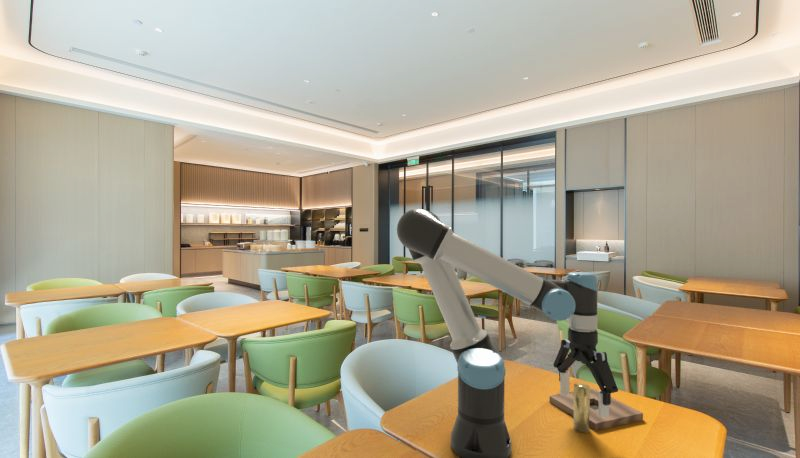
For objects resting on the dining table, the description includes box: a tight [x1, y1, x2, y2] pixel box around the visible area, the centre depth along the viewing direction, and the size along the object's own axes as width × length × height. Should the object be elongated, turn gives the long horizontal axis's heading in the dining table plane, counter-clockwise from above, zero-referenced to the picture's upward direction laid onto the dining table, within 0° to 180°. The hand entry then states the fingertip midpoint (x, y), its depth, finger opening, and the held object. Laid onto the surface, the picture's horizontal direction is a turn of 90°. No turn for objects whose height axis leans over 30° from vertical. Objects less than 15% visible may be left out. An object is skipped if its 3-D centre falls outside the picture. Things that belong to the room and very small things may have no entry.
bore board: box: [549, 387, 644, 431], centre depth 116 cm, size 18×18×2 cm
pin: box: [573, 382, 591, 434], centre depth 106 cm, size 4×4×12 cm
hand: (583, 404), depth 106 cm, fingers open, 13 cm apart
